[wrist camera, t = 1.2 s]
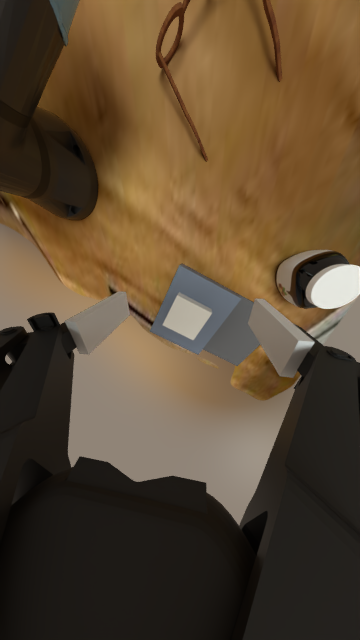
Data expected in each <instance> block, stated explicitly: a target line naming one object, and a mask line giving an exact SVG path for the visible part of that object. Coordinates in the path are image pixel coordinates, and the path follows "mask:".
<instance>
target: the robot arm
mask: <svg viewBox="0 0 360 640" xmlns="http://www.w3.org/2000/svg"><path fill="white" fill-rule="evenodd" d="M79 1H80V0H0V191H4V192H7V193H11V194H14V195H18V196H22V197H25V198H28V199H30V200H31V201H33V202H35V203H36V204H38V205H40V206H41V207H43V208H45V209H46V210H48V211H50V212H51V213H53V214H55V215H57V216H59V217H62V218H67V219H71V220H80V219H83V218H85V217H87V216H88V215H89V214H90V213H91V212H92V210H93V208H94V206H95V204H96V200H97V194H98V182H97V175H96V170H95V167H94V163H93V161H92V158H91V156H90V153H89V151H88V149H87V148H86V146H85V144H84V143H83V141H82V140H81V139H80V137H79V136H78V135H77V134H76V133H75V132H74V131H73V130H72V129H71V128H70V127H69V126H68V125H67V124H66V123H65V122H64V121H62V120H61V119H60V118H59V117H57V116H56V115H54V114H53V113H51V112H49V111H46V110H44V109H42V108H39V107H37V105H38V102H39V100H40V98H41V95H42V93H43V91H44V88H45V86H46V83H47V81H48V79H49V77H50V75H51V72H52V70H53V68H54V66H55V64H56V61H57V59H58V57H59V55H60V53H61V51H62V48H63V46H64V45H65V46H67V44H68V32H69V29H70V26H71V23H72V20H73V17H74V14H75V12H76V9H77V6H78V3H79ZM129 315H130V312H129V307H128V302H127V296H126V292H120V291H119V292H117V293H115V294H113V295H111V296H110V297H108V298H106V299H104V300H102V301H101V302H99V303H97V304H95V305H93V306H92V307H90V308H88V309H86V310H84V311H82V312H80V313H79V314H77V315H75V316H74V317H71V318H69V319H68V320H66V321H65V322H64V323H62V324H61V325H60V324H59V322H58V320H57V318H56V316H55V314H54V313H42V314H38V315H35V316H32V317H30V318H29V319H27V320H28V322H29V324H30V325H31V327H32V329H33V330H34V332H30V333H27V332H26V330H25V329H24V327H21V326H20V327H10V328H6V329H3V330H2V331H0V640H360V363H358V362H356V360H355V358H353V357H352V356H351V355H349V354H348V353H346V352H344V351H342V350H339V349H336V348H333V347H327V346H323V345H322V344H321V343H320V342H318V341H317V340H316V339H315V338H313V337H312V336H311V335H310V334H308V333H306V331H305V330H304V329H302V328H301V327H299V326H297V325H295V324H293V323H292V322H290V321H289V320H288V319H287V318H286V317H284V316H283V315H282V314H281V313H280V312H279V311H277V310H276V309H275V308H274V307H273V306H271V305H270V304H269V303H268V302H267V301H265V300H264V299H255V301H254V304H253V308H252V311H251V315H250V318H249V322H248V324H249V326H250V328H251V329H252V331H253V333H254V334H255V336H256V338H257V339H258V341H259V343H260V344H261V346H262V347H263V349H264V351H265V352H266V354H267V356H268V357H269V359H270V361H271V362H272V364H273V366H274V367H275V369H276V371H277V372H278V374H279V375H280V376H284V377H294V375H295V374H296V372H297V370H298V372H299V373H300V374H301V375H302V376H301V378H300V379H299V381H298V382H297V384H296V386H295V387H294V389H295V392H294V394H293V397H292V400H291V402H290V405H289V407H288V410H287V412H286V415H285V418H284V420H283V423H282V425H281V428H280V430H279V433H278V435H277V438H276V441H275V443H274V446H273V449H272V451H271V453H270V456H269V458H268V461H267V464H266V466H265V469H264V471H263V474H262V476H261V479H260V482H259V484H258V487H257V489H256V492H255V494H254V496H253V497H252V499H251V501H250V503H249V505H248V507H247V509H246V511H245V514H244V516H243V518H242V520H241V523H240V525H238V524H237V522H236V521H235V520H234V518H233V517H232V516H231V514H229V512H228V511H227V510H226V509H225V508H224V506H223V505H222V504H221V503H220V502H218V501H217V500H216V499H215V498H214V497H213V496H211V495H210V494H208V493H207V492H206V483H204V482H199V481H195V480H190V479H185V478H181V477H175V476H169V477H163V478H158V479H152V480H147V481H142V482H135V481H133V480H131V479H130V478H129V477H127V476H126V475H125V474H123V473H122V472H121V471H119V470H118V469H117V468H115V467H114V466H112V465H111V464H110V463H108V462H104V461H99V460H94V459H90V458H85V457H79V459H78V461H77V462H76V464H75V466H74V467H71V464H70V461H69V457H68V437H69V422H70V409H71V394H72V379H73V364H74V353H73V351H72V350H73V349H75V348H76V347H77V349H78V351H79V353H80V354H90V353H91V352H92V351H93V350H94V349H95V348H96V347H97V346H98V345H99V344H100V343H101V342H102V341H103V340H104V339H105V338H106V337H107V336H108V335H110V333H112V332H113V331H114V330H115V329H116V328H117V327H118V326H119V325H120V324H121V323H122V322H123V321H124V320H125V319H126V318H127V317H128V316H129ZM6 355H8V357H9V358H10V359H11V360H12V363H11V364H10V365H9V364H7V363H6V361H5V356H6Z"/></svg>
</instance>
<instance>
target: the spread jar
mask: <svg viewBox="0 0 360 640" xmlns="http://www.w3.org/2000/svg"><path fill="white" fill-rule="evenodd" d="M276 284H277V287H278V289H279V291H280V293H281V295H282V296H283V297H284V298H285V299H286V300H287V301H289V302H290V303H292V304H293V305H295V306H297V307H300V308H304V309H307V308H316V307H320V308H323V309H333V308H337V307H340V306H343V305H345V304H347V303H349V302H351V301H352V300H353V299H355V298H356V297H357V296H358V295H359V294H360V267H359V266H356V265H350V264H349V262H348V261H347V259H346V258H345V257H344V256H343V255H342V254H341V253H338V252H336V251H331V250H312V251H306V252H302V253H299V254H297V255H294V256H292V257H290V258H288V259H286V260H285V261H284V262H282V263H281V265H280V266H279V268H278V270H277V273H276Z"/></svg>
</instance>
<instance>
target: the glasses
mask: <svg viewBox="0 0 360 640" xmlns="http://www.w3.org/2000/svg"><path fill="white" fill-rule="evenodd" d="M189 2H190V0H184V1H183V4H182V3H181V2H179V3H177V4H175V5H174V6H173V7H172V9H171V10H170V12H169V13H168V15H167V17H166V19H165V21H164V23H163V25H162V28H161V30H160V33H159V37H158V40H157V45H156V60H157V63H158V65H159V67H160V68H164V71H165V73H166V75H167V77H168V79H169V82H170V84H171V86H172V88H173V90H174V92H175V95H176V97H177V99H178V101H179V103H180V106H181V108H182V110H183V112H184V114H185V116H186V118H187V120H188V122H189V124H190V126H191V128H192V130H193V132H194V134H195V136H196V138H197V140H198V143H199V145H200V148H201V150H202V153H203V155H204V158H205V160H206V161H207V160H208V159H207V156H206V154H205V151H204V148H203V146H202V143H201V141H200V138H199V136H198V133H197V131H196V128H195V126H194V124H193V122H192V120H191V118H190V116H189V114H188V112H187V110H186V107H185V105H184V103H183V101H182V99H181V96H180V94H179V92H178V90H177V87H176V85H175V83H174V81H173V78H172V76H171V74H170V72H169V70H168V67H167V64H168V63H169V61H170V59H171V58H172V56H173V54H174V53H175V51H176V49H177V47H178V44H179V42H180V39H181V35H182V30H183V23H184V13H185V11H186V8H187V6H188V4H189ZM263 5H264V10H265V13H266V16H267V19H268V22H269V26H270V30H271V34H272V38H273V42H274V49H275V61H276V73H277V78H278V80H279V82H280V80H281V79H282V69H281V55H280V41H279V35H278V30H277V25H276V20H275V16H274V12H273V9H272V5H271V2H270V0H263ZM177 16H179V27H178V32H177V36H176V39H175V41H174V44H173V46H172V48H171V50H170V51H169V53H168V54H167V56H166V57H165V58H163V56H162V54H161V46H162V42H163V39H164V36H165V34H166V31H167V29H168V27H169V26H170V24H171V22H172V21H173V20H174V19H175V18H176V17H177Z"/></svg>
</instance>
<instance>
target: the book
mask: <svg viewBox="0 0 360 640" xmlns="http://www.w3.org/2000/svg"><path fill="white" fill-rule="evenodd" d="M179 292H180V293H182V294H184V295H186V296H187V297H189V298H191V299H193V300H195V301H197V302H199V303H201V304H203V305H205V306H207V307H208V308H210V309H212V314H211V316H210V317H209V319H208V320H207V321H206V323H205V324H204V326H203V327H202V329H201V330H200V332H199V333H198V334H197V336H196V337H195V339H194V340H191V339H189V338H187V337H185V336H183V335H181V334H179V333H177V332H175V331H173V330H171V329H169V328H167V327H165V326H163V323H164V321H165V319H166V317H167V315H168V313H169V311H170V309H171V307H172V305H173V303H174V301H175V299H176V297H177V295H178V293H179ZM240 300H241V297H240V296H239V295H238V294H237V293H235V292H234V291H232V290H230V289H228V288H226V287H224V286H223V285H221V284H219V283H217V282H215V281H213V280H212V279H210V278H208V277H206V276H204V275H202V274H201V273H199V272H197V271H195V270H193V269H191V268H190V267H188V266H186V265H184V264H180V265H179V267H178V270H177V272H176V274H175V276H174V279H173V281H172V283H171V285H170V287H169V290H168V292H167V294H166V296H165V299H164V301H163V303H162V305H161V307H160V310H159V312H158V314H157V316H156V319H155V321H154V323H153V325H152V327H151V330H150V332H152V333H154V334H156V335H159V336H161V337H163V338H165V339H167V340H169V341H171V342H173V343H175V344H177V345H179V346H181V347H183V348H185V349H187V350H189V351H192V352H194V353H196V354H199V353H200V352H201V351H202V349H203V348H204V347H205V345H206V344H207V343H208V341H209V340H210V339H211V338H212V336H213V335H214V334H215V332H216V331H217V330H218V329H219V327H220V326H221V325H222V323H223V322H224V321H225V319H226V318H227V317H228V316H229V314H230V313H231V312H232V310H233V309H234V308H235V307H236V305H237V304H238V303H239V301H240Z"/></svg>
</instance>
